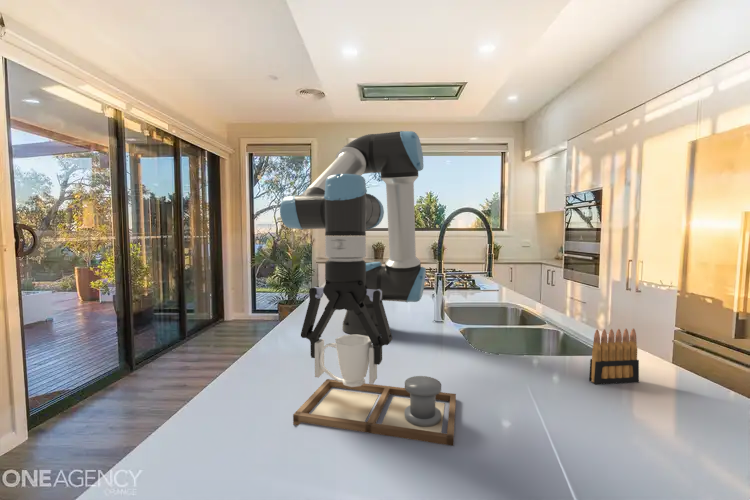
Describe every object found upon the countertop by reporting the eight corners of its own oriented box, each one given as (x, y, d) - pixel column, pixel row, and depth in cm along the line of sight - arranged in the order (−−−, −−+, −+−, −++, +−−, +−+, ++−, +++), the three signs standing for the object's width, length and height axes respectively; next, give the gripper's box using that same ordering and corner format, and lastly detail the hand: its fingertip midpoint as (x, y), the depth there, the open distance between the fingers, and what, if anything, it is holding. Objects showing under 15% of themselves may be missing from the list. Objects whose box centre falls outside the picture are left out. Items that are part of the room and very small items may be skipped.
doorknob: (407, 405, 64) (407, 374, 64) (442, 410, 62) (442, 378, 62) (401, 424, 58) (401, 389, 57) (439, 429, 56) (440, 393, 56)
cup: (369, 391, 60) (369, 346, 59) (314, 388, 61) (314, 343, 61) (374, 375, 67) (374, 334, 66) (325, 372, 68) (325, 332, 68)
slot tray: (327, 387, 73) (327, 378, 73) (455, 402, 66) (455, 393, 66) (293, 424, 59) (293, 414, 59) (453, 449, 52) (453, 438, 52)
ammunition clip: (594, 384, 74) (596, 330, 74) (588, 381, 76) (590, 328, 76) (639, 382, 76) (641, 329, 75) (632, 379, 78) (633, 327, 77)
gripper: (280, 259, 62) (281, 379, 63) (401, 262, 56) (401, 393, 57) (299, 257, 69) (300, 364, 70) (409, 259, 64) (408, 376, 65)
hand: (345, 377), depth 64 cm, fingers closed on cup, 10 cm apart
